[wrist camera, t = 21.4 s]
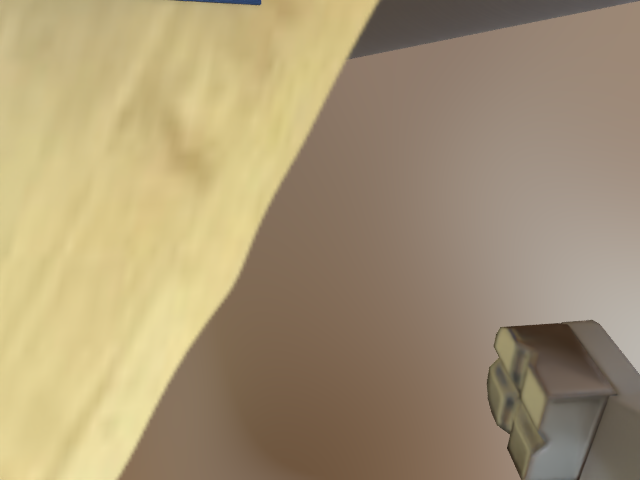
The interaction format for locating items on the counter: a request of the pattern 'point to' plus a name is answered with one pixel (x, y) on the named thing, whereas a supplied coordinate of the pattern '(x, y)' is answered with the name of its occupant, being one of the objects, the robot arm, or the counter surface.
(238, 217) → the counter surface
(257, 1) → the blue mat
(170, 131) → the counter surface
